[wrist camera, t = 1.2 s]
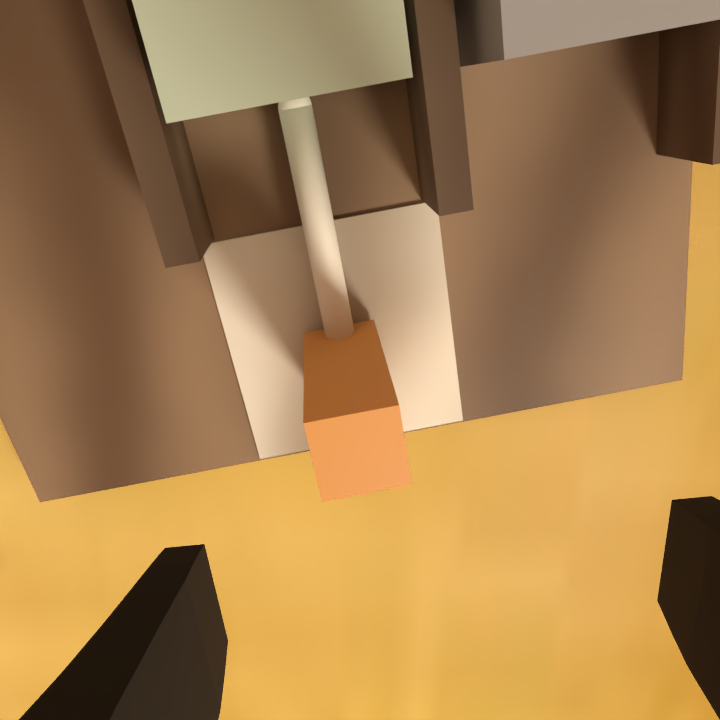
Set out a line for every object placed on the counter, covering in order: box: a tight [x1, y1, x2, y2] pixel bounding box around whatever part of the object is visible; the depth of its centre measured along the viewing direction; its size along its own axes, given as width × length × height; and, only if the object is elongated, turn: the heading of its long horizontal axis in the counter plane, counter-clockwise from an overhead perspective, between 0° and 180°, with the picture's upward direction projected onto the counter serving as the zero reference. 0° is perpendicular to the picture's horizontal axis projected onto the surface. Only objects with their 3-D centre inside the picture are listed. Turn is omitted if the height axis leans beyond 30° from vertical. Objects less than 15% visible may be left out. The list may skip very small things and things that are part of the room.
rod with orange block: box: [132, 0, 413, 502], centre depth 13 cm, size 5×14×5 cm, turn 10°
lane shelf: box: [0, 0, 720, 502], centre depth 15 cm, size 20×18×4 cm
